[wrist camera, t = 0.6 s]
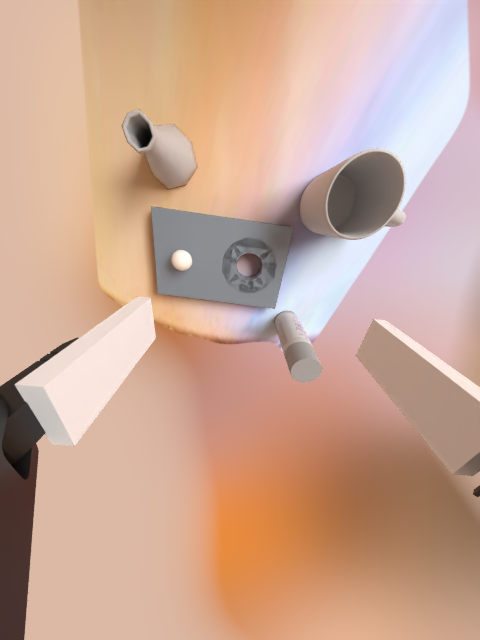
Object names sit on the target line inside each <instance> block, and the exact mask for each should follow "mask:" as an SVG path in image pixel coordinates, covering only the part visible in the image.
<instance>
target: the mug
mask: <svg viewBox="0 0 480 640" xmlns="http://www.w3.org/2000/svg"><path fill="white" fill-rule="evenodd" d="M405 185H406V176H405V171H404V168H403V165H402V163H401V161H400V160H399V159H398V157H397V156H395V155H394V154H393V153H391V152H390V151H387V150H384V149H369V150H365V151H362V152H360V153H357V154H355V155H353V156H352V157H350V158H348V159H346V160H345V161H343V162H341V163H340V164H338V165H336V166H334V167H333V168H331V169H329V170H328V171H326V172H324V173H322V174H320V175H318V176H317V177H316V178H314V179H313V180H312V181H311V182H310V183H309V185H308V186H307V187H306V189H305V191H304V193H303V195H302V198H301V202H300V216H301V219H302V222H303V224H304V225H305V227H306V228H307V229H308V230H310V231H311V232H314V233H316V234H321V235H327V236H332V237H337V238H342V239H349V240H356V239H362V238H365V237H368V236H370V235H372V234H374V233H376V232H377V231H379V230H380V229H382V228H383V227H384V226H388V227H395V226H399V225H401V224H402V223H403V222H404V220H405V218H406V215H405V213H404V212H402V211H400V210H398V208H399V206H400V204H401V202H402V199H403V196H404V192H405Z"/></svg>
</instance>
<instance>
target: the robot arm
mask: <svg viewBox="0 0 480 640" xmlns="http://www.w3.org/2000/svg"><path fill="white" fill-rule="evenodd" d="M155 338H156V335H155V327H154V320H153V312H152V304H151V298H148V297H136V298H134V299H133V300H132V301H130V302H129V303H127V304H126V305H125V306H123V307H122V308H121V309H119V310H118V311H117V312H115V313H114V314H112V315H111V316H109V317H108V318H107V319H105V320H104V321H102V322H101V323H100V324H98V325H97V326H95V327H94V328H93V329H91V330H90V331H89V332H87V333H86V334H84V335H83V336H82V337H80V338H75V339H73V340H70V341H68V342H66V343H64V344H62V345H60V346H59V347H57V348H56V349H54V350H53V351H51V353H50V354H47V355H46V356H44V357H43V358H41V359H40V361H37V362H35V363H34V364H32V365H31V366H29V367H28V368H27V369H25V370H24V371H22V372H21V373H19V374H18V375H16V376H15V377H13V378H12V379H11V380H9V381H7V382H6V383H5V384H3V385H2V386H0V640H24V634H25V621H26V607H27V595H28V582H29V569H30V556H31V542H32V528H33V516H34V503H35V488H36V477H37V464H38V447H37V445H36V442H37V441H38V440H39V439H40V438H41V437H42V436H43V435H44V434H46V436H47V437H48V439H49V441H50V442H51V444H57V445H70V446H75V445H76V444H77V442H78V441H79V440H80V438H81V437H82V436H83V434H84V433H85V432H86V430H87V429H88V428H89V426H90V425H91V424H92V422H93V421H94V420H95V418H96V417H97V416H98V414H99V413H100V412H101V410H102V409H103V408H104V406H105V405H106V404H107V402H108V401H109V400H110V398H111V397H112V396H113V394H114V393H115V392H116V390H117V389H118V388H119V386H120V385H121V384H122V382H123V381H124V380H125V378H126V377H127V376H128V374H129V373H130V372H131V370H132V369H133V368H134V366H135V365H136V363H137V362H138V361H139V360H140V358H141V357H142V356H143V354H144V353H145V351H146V350H147V349H148V348H149V346H150V345H151V344H152V342H153V341H154V340H155ZM356 357H357V358H358V359H359V361H360V362H361V363H362V364H363V365H364V367H365V368H366V369H367V370H368V372H369V373H370V374H371V375H372V376H373V378H374V379H375V380H376V381H377V383H378V384H379V385H380V386H381V388H382V389H383V390H384V391H385V392H386V394H387V395H388V396H389V397H390V398H391V400H392V401H393V402H394V403H395V405H396V406H397V407H398V408H399V410H400V411H401V412H402V413H403V414H404V416H405V417H406V418H407V419H408V421H409V422H410V423H411V424H412V426H413V427H414V428H415V429H416V430H417V431H418V433H419V434H420V435H421V437H422V438H423V439H424V440H425V441H426V443H427V444H428V445H429V446H430V447H431V449H432V450H433V451H434V452H435V454H436V455H437V456H438V457H439V459H440V460H441V461H442V462H443V464H444V465H445V466H446V467H447V468H448V470H449V471H450V472H451V473H452V474H455V475H468V476H473V475H475V474H476V473H477V472H479V471H480V387H478V386H477V385H476V384H474V383H473V382H471V381H470V380H469V379H467V378H466V377H464V376H463V375H462V374H460V373H459V372H457V371H456V370H454V369H453V368H452V367H450V366H449V365H448V364H446V363H445V362H443V361H442V360H441V359H439V358H438V357H436V356H435V355H433V354H432V353H431V352H429V351H428V350H427V349H425V348H424V347H422V346H421V345H420V344H418V343H417V342H415V341H414V340H413V339H411V338H410V337H408V336H407V335H406V334H404V333H403V332H401V331H400V330H399V329H397V328H396V327H394V326H393V325H392V324H390V323H389V322H387V321H386V320H377V319H373V321H372V323H371V325H370V327H369V329H368V331H367V333H366V335H365V338H364V340H363V342H362V344H361V346H360V348H359V350H358V353H357V354H356ZM473 495H475V496H477V497H479V496H480V486H478V487H477V488H476V489H474V493H473Z"/></svg>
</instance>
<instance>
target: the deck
mask: <svg viewBox="0 0 480 640" xmlns="http://www.w3.org/2000/svg"><path fill="white" fill-rule="evenodd" d="M151 211H152V224H153V237H154V251H155V264H156V277H157V290H158V294H164V295H172V296H180V297H188V298H195V299H203V300H211V301H219V302H226V303H234V304H242V305H250V306H258V307H265V308H273V309H275V306H276V302H277V298H278V294H279V289H280V285H281V281H282V277H283V272H284V268H285V264H286V260H287V256H288V251H289V247H290V243H291V239H292V234H293V230H294V227H289V226H282V225H275V224H268V223H261V222H255V221H248V220H241V219H234V218H227V217H220V216H214V215H207V214H200V213H193V212H186V211H180V210H173V209H166V208H159V207H152V206H151ZM177 250H184V251H187V252H188V253H189V254H190V255H191V257H192V265H191V267H190V268H189V269H187V270H184V271H181V270H178V269H176V268H175V267H174V266H173V264H172V260H171V258H172V255H173V253H174V252H176V251H177ZM246 253H252V254H256V255H257V256H258V257H259V258H260V259H261V261H262V265H261V270H260V271H259V272H258V273H257V275H254V276H252V277H246V276H243V275H242V274H240V273H239V272H238V270H237V267H236V262H237V260H238V259H239V258H240V256H242V255H244V254H246Z"/></svg>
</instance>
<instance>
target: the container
mask: <svg viewBox="0 0 480 640" xmlns="http://www.w3.org/2000/svg"><path fill="white" fill-rule="evenodd" d="M275 325H276V328H277V332H278V335H279V339H280V342H281V346H282V349H283V353H284V356H285V358H286V362H287V365H288V367H289V371H290V373H291V376H292V378H293V379H295V380H296V381H299V382H310V381H312V380H315V379H316V378H318V377H319V376H320V374H321V372H322V365H321V363H320V361H319V359H318V357H317V355H316V353H315V351H314V349H313V346H312V344H311V342H310V340H309V339H308V337H307V335H306V333H305V331H304V329H303V327H302V325H301V324H300V322H299V320H298V318H297V316H296V315H295V314H294V313H293V312H291V311H284V312H281V313H280V314H278V315H277V317H276V319H275Z"/></svg>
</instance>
